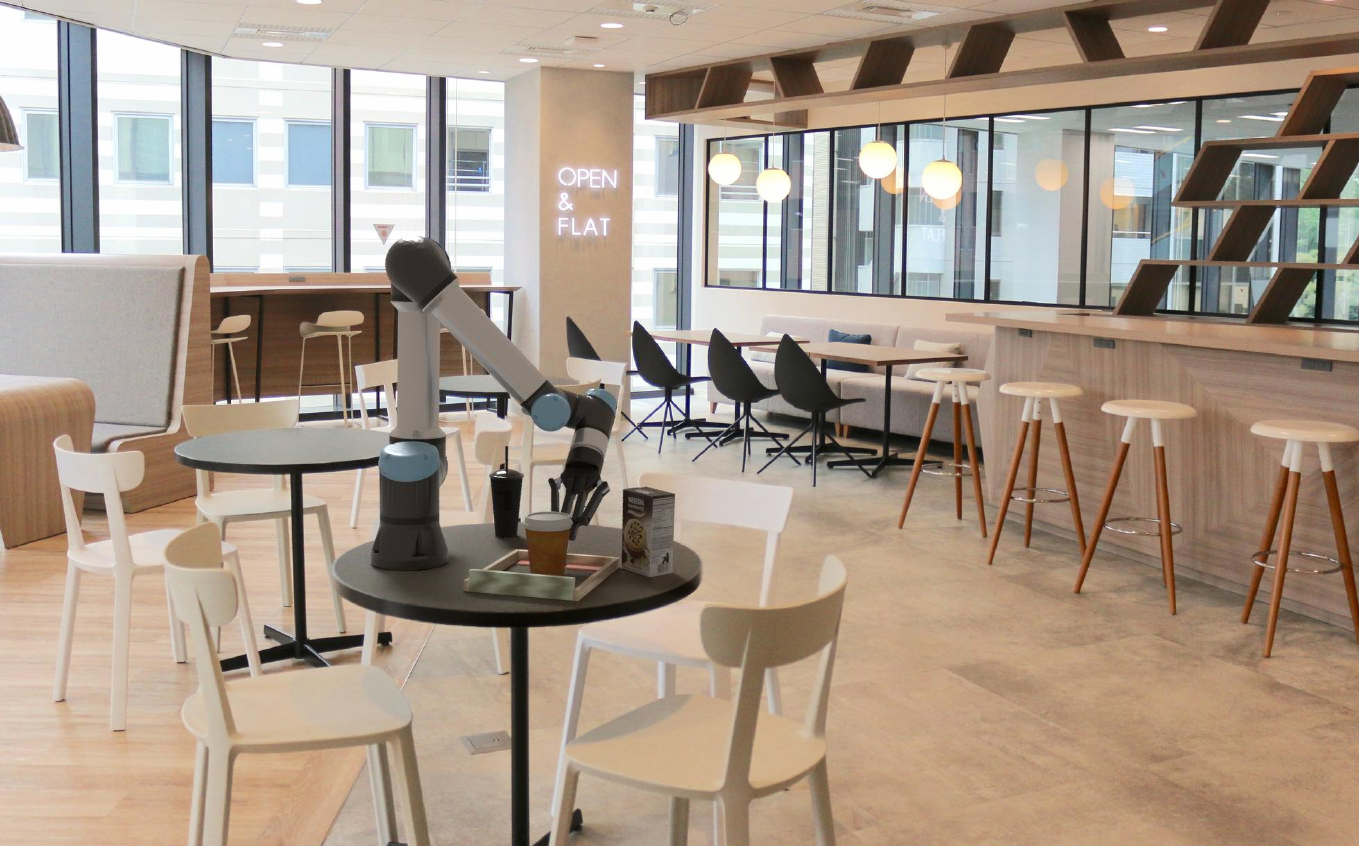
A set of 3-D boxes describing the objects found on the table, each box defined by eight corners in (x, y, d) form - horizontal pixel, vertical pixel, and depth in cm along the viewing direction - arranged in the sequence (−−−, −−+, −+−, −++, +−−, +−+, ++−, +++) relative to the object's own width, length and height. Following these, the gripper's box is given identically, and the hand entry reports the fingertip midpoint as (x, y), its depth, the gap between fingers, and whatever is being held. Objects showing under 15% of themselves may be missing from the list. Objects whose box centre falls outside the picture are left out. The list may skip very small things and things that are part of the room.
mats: (516, 564, 236) (516, 563, 236) (523, 560, 240) (523, 559, 240) (603, 571, 232) (603, 570, 232) (608, 567, 236) (608, 566, 235)
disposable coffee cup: (574, 571, 232) (575, 511, 230) (569, 584, 222) (570, 521, 221) (525, 570, 232) (526, 510, 230) (519, 583, 222) (519, 520, 221)
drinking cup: (530, 534, 264) (531, 445, 261) (508, 540, 257) (508, 449, 255) (504, 529, 268) (504, 442, 265) (481, 535, 261) (481, 446, 259)
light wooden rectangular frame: (463, 590, 216) (463, 569, 215) (515, 558, 241) (515, 539, 241) (578, 601, 211) (578, 579, 210) (619, 567, 236) (619, 547, 236)
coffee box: (619, 568, 235) (621, 488, 233) (644, 564, 239) (646, 485, 237) (649, 578, 228) (650, 495, 226) (674, 573, 232) (676, 492, 230)
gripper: (620, 467, 246) (597, 565, 233) (560, 464, 249) (534, 560, 235) (613, 446, 240) (589, 545, 227) (552, 442, 243) (524, 540, 229)
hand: (561, 552), depth 231 cm, fingers closed
